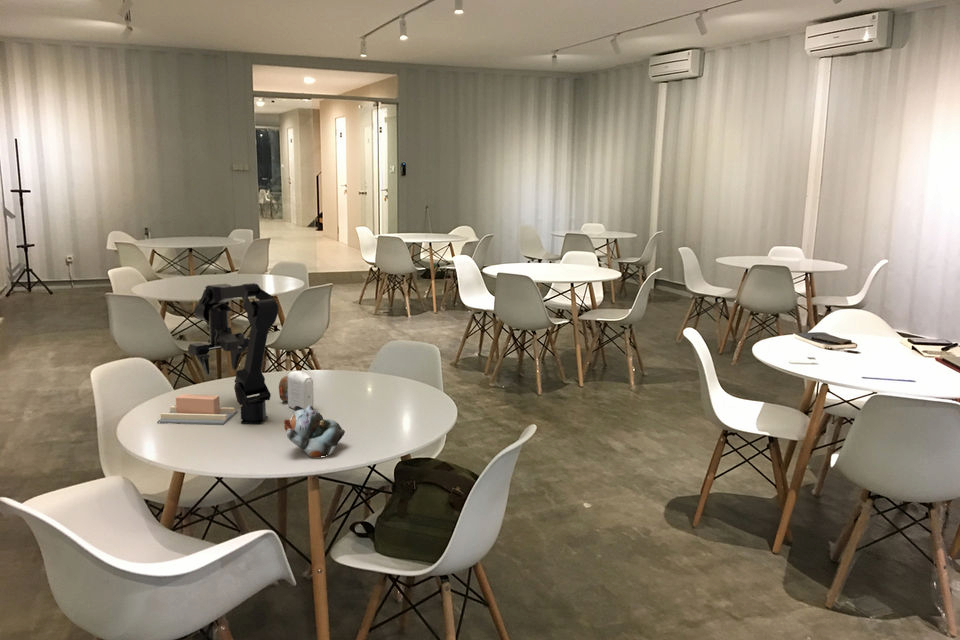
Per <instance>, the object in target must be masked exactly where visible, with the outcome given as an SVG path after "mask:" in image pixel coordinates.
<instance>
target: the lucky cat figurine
mask: <svg viewBox="0 0 960 640" xmlns="http://www.w3.org/2000/svg"><path fill="white" fill-rule="evenodd" d="M283 423H284V424H283V428H284V429H283V430H284V431H285V437H286V438H287V439H288V440H289V441H290V442H291V443H293V444H294V445H295V446H296V447H298V448H299V449H301V450H302V451H304V452H305V453H306V454H307V455H308V456H309V457H311V458H313V457H314V458H313V459H316V458H315V457H321V456H326V455H327V456H330V455H331V454H332V453H333V452H334V451H335V450H336V447H337V446H338V443H339V442H340V440H341V439H342V438H343V437H344V435H345V433H346V431H345V430H344V429H343V428H342V427H341V425H340V424H339V423H338V421H336V420H333V419H324V417H323V415H322V414H321V413H320V412H319V411H316V410H315V409H314V406H313V407H312V406H311V405H309V406H308V407H307V408H306V409H303V408H301V407H299V406H295V407H294V408H293V412H292V415H291V418H289V419H284V420H283ZM327 456H326V457H327Z"/></svg>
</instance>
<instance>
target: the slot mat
mask: <svg viewBox="0 0 960 640" xmlns="http://www.w3.org/2000/svg"><path fill="white" fill-rule="evenodd" d="M169 410H170V412H161V413H160V419H159V420H157V424H168V423H183V424H182V425H209V424H210V425H211V426H213V425H214V426H215V425H216V426H224V425H225V424H226V423H227V422H228V421H229V420H230V419H232V418H233V417H234V416H235V415H236V414H237V413H238V412H239V411H238V409H236V408H235V407H223V406H222V407H220V414H182V413H177V410H176V405H175V406H173V405H172V406H170V407H169ZM159 422H160V423H159Z"/></svg>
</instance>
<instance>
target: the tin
mask: <svg viewBox="0 0 960 640" xmlns="http://www.w3.org/2000/svg"><path fill="white" fill-rule="evenodd" d="M288 375H289V373H288V374H286V375H285V376H283V377H282V378H281V379H280V381H279V382H278V383H279V384H278V392H279V393H278V395H279V398H280V400H281V401H282V402H288Z"/></svg>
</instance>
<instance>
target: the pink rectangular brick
mask: <svg viewBox="0 0 960 640" xmlns="http://www.w3.org/2000/svg"><path fill="white" fill-rule="evenodd" d="M175 404H176V405H175V406H176V410H177V413H182V414H220V406H221V404H220V395H212V394H211V395H210V394H209V395H208V394H207V395H206V394H188V393H187V394H186V393H181V394H180V395H178V396H175Z"/></svg>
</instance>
